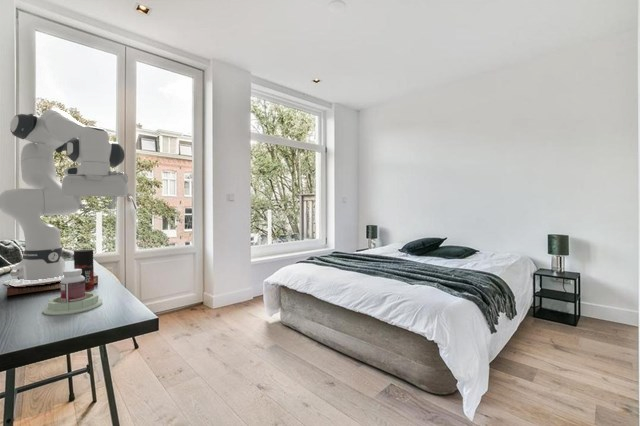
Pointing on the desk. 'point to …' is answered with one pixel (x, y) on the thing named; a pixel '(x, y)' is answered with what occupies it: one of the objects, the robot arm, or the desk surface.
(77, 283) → the pill bottle
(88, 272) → the deodorant
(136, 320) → the desk surface
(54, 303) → the dish
